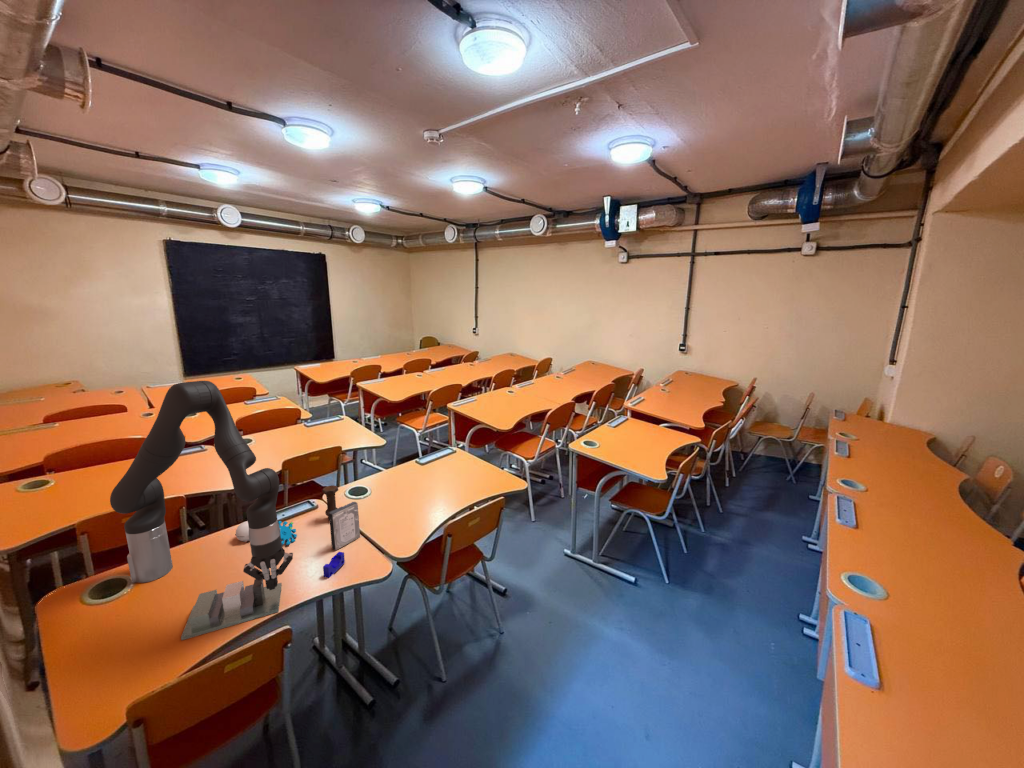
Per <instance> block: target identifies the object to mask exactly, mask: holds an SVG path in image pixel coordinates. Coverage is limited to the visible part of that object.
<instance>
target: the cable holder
mask: <svg viewBox="0 0 1024 768" xmlns="http://www.w3.org/2000/svg"><path fill="white" fill-rule="evenodd" d="M345 563H346V560H345V552H342V551H338V552H336V554H335V555H334V556H332V558H331V559H330V562H328V563H325V564H324V565H323V567H322V569H323V571H322V572H323V578H328V579H329V578H331V577H332V576H333V575H334V574H335V573H336V572H337V571H338V570H340V568H341V567H342V566H343V565H344V564H345Z"/></svg>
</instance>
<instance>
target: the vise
mask: <svg viewBox="0 0 1024 768" xmlns="http://www.w3.org/2000/svg"><path fill="white" fill-rule="evenodd" d="M282 586H283V585H282V582H278V584H277V586H276V587H275V589H273V590H269V589H267V588H266V586H264V593H265V596H264V602H263V604H261V605H257V606H255V609H254V614H250V615H247V616H243V617H241V615H240V613H238V614H235V615H231V616H228V617H225V615H224V608H223V601H222V598H223V595H224V591H223V592H220V593H218V591H217V589H214V590H210V591H206V592H201V593H199V594H198V597H197V599H196V602H195V604H194V605H193V607H192V610H191V611H190V614H189V616H188V618H187V622H186V624H185V626H184V628H183V631H182V634H181V637H180V640H181V641H184V640H188V639H191V638H195V637H198V636H202V635H204V634H208V633H212V632H215V631H219V630H223V629H225V628H228V627H232V626H235V625H239V624H242V623H246V622H250V621H253V620H256V619H259V618H262V617H266V616H269V615H273V614H276V613H279V612H280V611H279V609H280V604H281V601H280V600H281V594H282Z"/></svg>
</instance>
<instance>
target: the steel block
mask: <svg viewBox="0 0 1024 768" xmlns="http://www.w3.org/2000/svg"><path fill="white" fill-rule="evenodd" d="M244 590H245V585H244V580H241V581H238V582H233V583H229V584H226V586H225V588H224V591H223V592H224V595H223V598H222V601H223V608H224V615H225V617H228V616H231V615H235V614H238V613H240V606H241V602H242V598H243V594H244Z"/></svg>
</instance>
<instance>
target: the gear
mask: <svg viewBox="0 0 1024 768" xmlns="http://www.w3.org/2000/svg"><path fill="white" fill-rule="evenodd" d="M278 523H279V528H280V535H281V542H282V546H283V545H284V544H285V545H286V546H289V545H290V544H292V543H294V542H295V541H296V538H297V537H298V534H297V533H296V532H297V530H296V528H293V527H294V526H293V524H294V522H293V521H291V522H289V523H288V522H287V521H286V520H285V521H281V520H279V521H278ZM287 524H288V525H287Z"/></svg>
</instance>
